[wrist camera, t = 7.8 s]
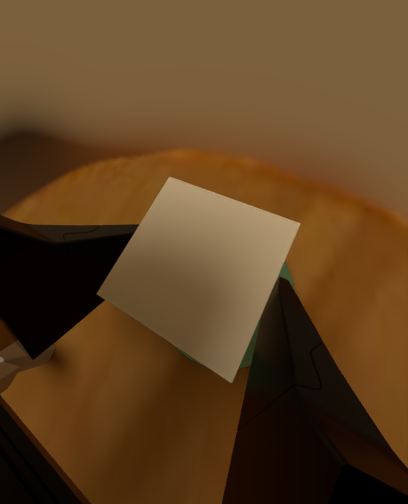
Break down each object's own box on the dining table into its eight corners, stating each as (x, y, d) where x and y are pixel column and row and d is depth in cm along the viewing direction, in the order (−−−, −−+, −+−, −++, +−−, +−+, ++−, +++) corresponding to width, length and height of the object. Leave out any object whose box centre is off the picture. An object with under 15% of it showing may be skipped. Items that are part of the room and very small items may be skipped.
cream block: (232, 324, 15) (231, 383, 4) (190, 300, 17) (96, 294, 5) (253, 279, 16) (300, 223, 5) (211, 259, 17) (169, 176, 6)
